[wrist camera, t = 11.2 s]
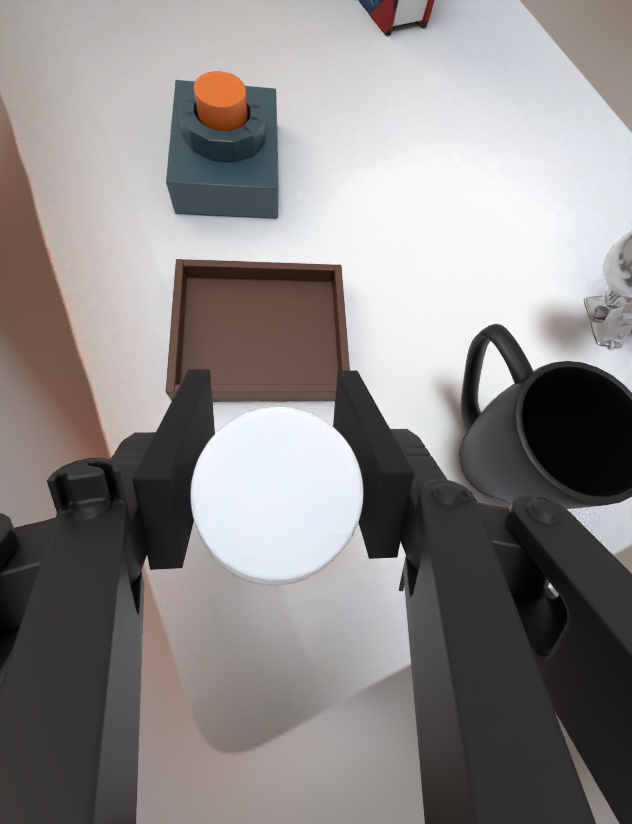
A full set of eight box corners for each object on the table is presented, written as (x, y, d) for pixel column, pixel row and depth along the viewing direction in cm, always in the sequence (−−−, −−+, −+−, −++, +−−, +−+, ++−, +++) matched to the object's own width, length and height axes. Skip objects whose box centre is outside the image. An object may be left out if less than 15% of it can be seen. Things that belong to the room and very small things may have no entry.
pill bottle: (297, 439, 18) (320, 359, 10) (348, 533, 17) (419, 527, 9) (200, 487, 17) (139, 440, 9) (248, 592, 16) (228, 645, 8)
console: (277, 218, 35) (278, 168, 30) (175, 213, 34) (159, 161, 29) (275, 123, 39) (276, 65, 34) (182, 116, 38) (170, 55, 33)
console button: (247, 134, 32) (245, 108, 30) (197, 131, 31) (192, 104, 29) (247, 100, 33) (246, 73, 31) (199, 96, 33) (194, 68, 31)
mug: (476, 357, 33) (553, 289, 24) (563, 483, 30) (687, 459, 21) (396, 397, 31) (447, 339, 22) (482, 536, 28) (580, 534, 19)
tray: (172, 401, 29) (165, 392, 27) (181, 275, 32) (175, 258, 30) (346, 400, 30) (351, 391, 29) (337, 279, 34) (341, 264, 32)
